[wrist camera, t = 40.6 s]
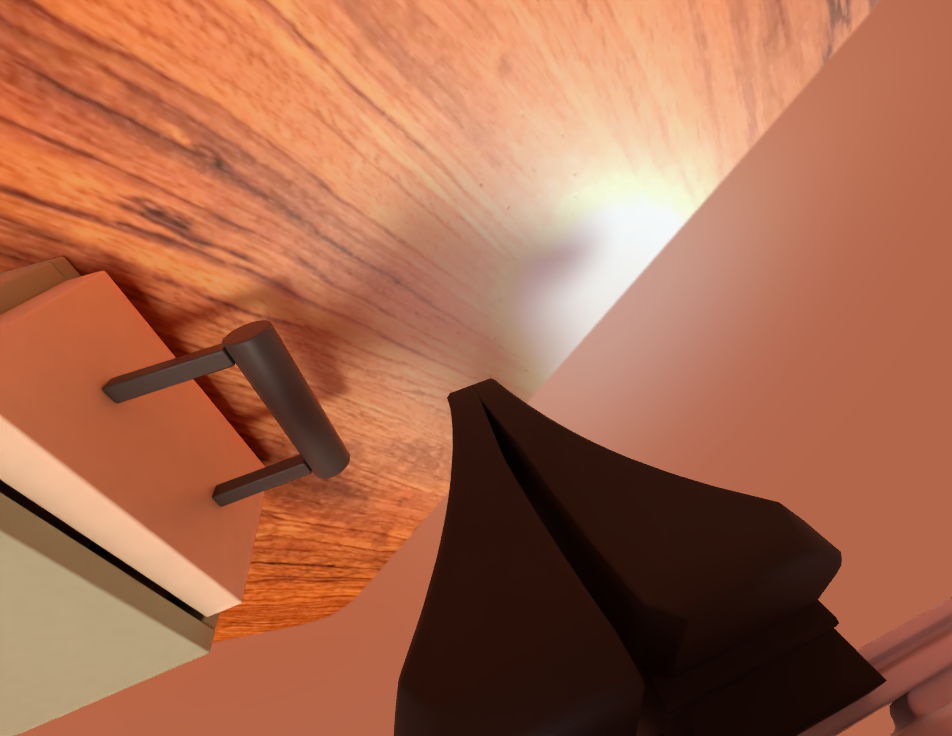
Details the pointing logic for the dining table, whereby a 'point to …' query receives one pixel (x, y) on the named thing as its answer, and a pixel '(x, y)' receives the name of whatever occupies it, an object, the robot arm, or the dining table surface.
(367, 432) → the dining table surface
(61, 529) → the paper towel roll
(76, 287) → the drawer
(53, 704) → the cabinet
